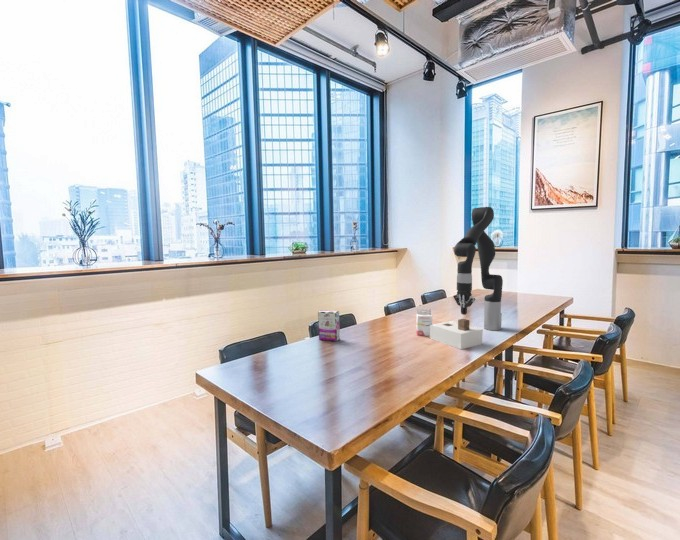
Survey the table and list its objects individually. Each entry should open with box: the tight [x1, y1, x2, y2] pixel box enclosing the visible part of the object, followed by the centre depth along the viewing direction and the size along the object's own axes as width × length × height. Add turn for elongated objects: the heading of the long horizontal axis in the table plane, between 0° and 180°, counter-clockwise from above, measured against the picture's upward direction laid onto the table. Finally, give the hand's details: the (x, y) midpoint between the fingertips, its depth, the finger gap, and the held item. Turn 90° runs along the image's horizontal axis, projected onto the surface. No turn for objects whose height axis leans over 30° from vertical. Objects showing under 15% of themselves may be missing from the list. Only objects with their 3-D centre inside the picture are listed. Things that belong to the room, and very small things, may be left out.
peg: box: [457, 318, 470, 331], centre depth 187 cm, size 4×4×7 cm
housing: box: [429, 320, 484, 350], centre depth 192 cm, size 16×22×8 cm
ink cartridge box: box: [415, 308, 433, 337], centre depth 206 cm, size 9×5×15 cm, turn 84°
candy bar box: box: [317, 309, 341, 342], centre depth 200 cm, size 11×5×16 cm, turn 68°
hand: (463, 314), depth 186 cm, fingers closed
